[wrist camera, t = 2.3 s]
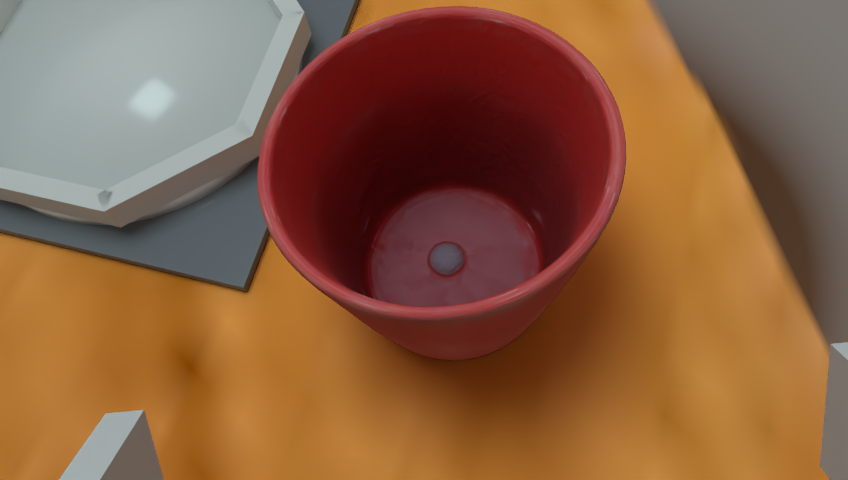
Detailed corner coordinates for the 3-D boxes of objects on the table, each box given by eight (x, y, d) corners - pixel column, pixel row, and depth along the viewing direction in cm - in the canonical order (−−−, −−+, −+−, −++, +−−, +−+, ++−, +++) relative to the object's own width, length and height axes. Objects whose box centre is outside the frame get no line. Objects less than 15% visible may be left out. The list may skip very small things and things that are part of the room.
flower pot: (301, 190, 33) (232, 47, 24) (543, 131, 33) (563, -32, 24) (345, 428, 28) (280, 361, 19) (624, 358, 29) (685, 261, 20)
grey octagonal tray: (-116, 204, 34) (-165, 174, 32) (60, -82, 41) (32, -126, 38) (247, 291, 31) (225, 266, 28) (372, -35, 38) (364, -79, 35)
